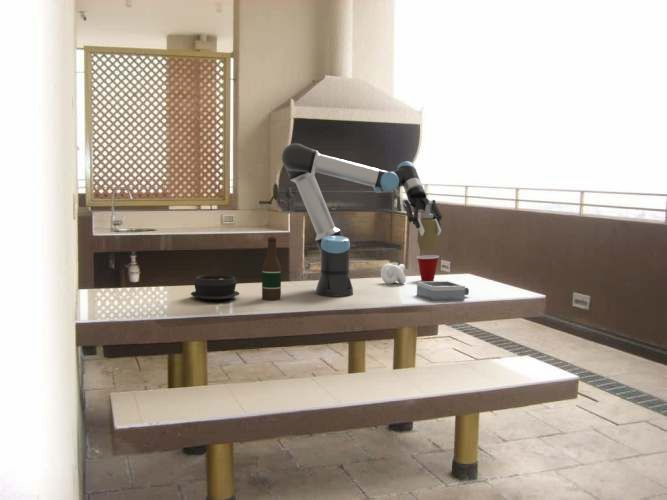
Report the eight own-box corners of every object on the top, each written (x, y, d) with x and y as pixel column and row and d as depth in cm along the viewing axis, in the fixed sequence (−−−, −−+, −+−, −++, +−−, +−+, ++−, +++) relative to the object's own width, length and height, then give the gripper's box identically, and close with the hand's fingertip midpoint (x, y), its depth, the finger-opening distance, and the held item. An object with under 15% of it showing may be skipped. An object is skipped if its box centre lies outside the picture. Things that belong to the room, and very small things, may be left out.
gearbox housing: (432, 300, 265) (432, 287, 264) (416, 294, 279) (417, 281, 278) (475, 299, 270) (476, 285, 270) (458, 293, 284) (458, 280, 284)
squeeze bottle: (436, 250, 266) (437, 205, 265) (416, 250, 268) (416, 205, 266) (438, 249, 274) (438, 204, 273) (418, 248, 276) (418, 204, 274)
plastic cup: (412, 279, 328) (413, 254, 327) (433, 278, 331) (433, 254, 330) (420, 282, 318) (421, 256, 316) (442, 281, 320) (442, 256, 319)
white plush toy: (381, 285, 307) (382, 265, 306) (379, 281, 319) (379, 262, 318) (406, 285, 307) (407, 265, 306) (403, 281, 319) (403, 262, 318)
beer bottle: (265, 301, 257) (266, 238, 255) (258, 297, 264) (258, 236, 261) (284, 299, 260) (285, 237, 258) (276, 296, 267) (277, 236, 265)
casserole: (243, 303, 251) (243, 281, 250) (192, 304, 246) (192, 281, 245) (235, 293, 275) (235, 272, 274) (189, 294, 270) (189, 273, 270)
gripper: (433, 197, 287) (450, 238, 273) (390, 198, 281) (405, 240, 267) (438, 185, 281) (456, 226, 267) (395, 185, 276) (411, 227, 262)
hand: (431, 233), depth 267 cm, fingers closed on squeeze bottle, 6 cm apart
